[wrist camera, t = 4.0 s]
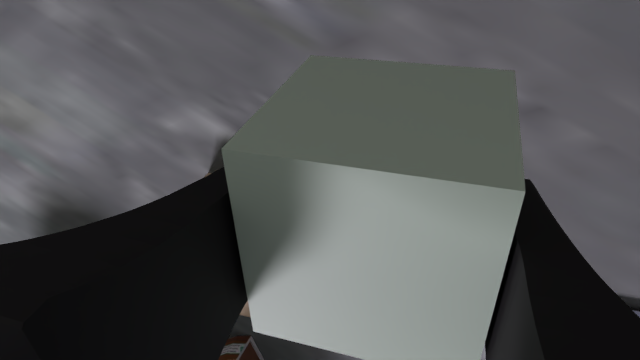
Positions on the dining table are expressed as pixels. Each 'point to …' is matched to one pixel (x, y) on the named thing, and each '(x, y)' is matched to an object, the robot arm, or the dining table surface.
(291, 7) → the dining table surface
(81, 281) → the robot arm
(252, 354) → the food container
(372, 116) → the sage cube
